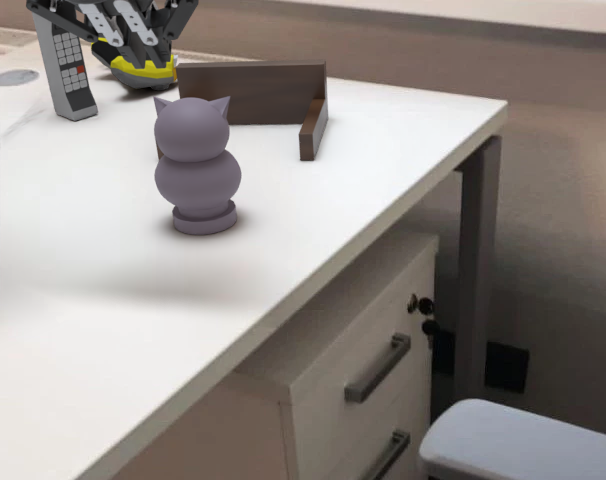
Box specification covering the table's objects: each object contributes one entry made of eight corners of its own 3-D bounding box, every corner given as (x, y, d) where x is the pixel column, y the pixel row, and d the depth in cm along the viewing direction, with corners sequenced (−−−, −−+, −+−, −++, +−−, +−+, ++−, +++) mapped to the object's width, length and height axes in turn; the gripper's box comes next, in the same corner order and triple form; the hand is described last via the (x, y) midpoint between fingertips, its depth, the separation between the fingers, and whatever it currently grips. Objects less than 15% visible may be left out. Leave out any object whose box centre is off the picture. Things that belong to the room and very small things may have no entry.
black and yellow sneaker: (120, 103, 120) (189, 90, 123) (112, 61, 117) (184, 48, 119) (93, 76, 131) (158, 64, 134) (85, 36, 127) (152, 25, 130)
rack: (314, 160, 100) (310, 96, 95) (158, 161, 102) (148, 99, 98) (328, 118, 110) (325, 59, 106) (187, 120, 113) (179, 62, 109)
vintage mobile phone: (74, 122, 115) (24, -103, 99) (55, 114, 118) (3, -105, 102) (99, 114, 117) (53, -108, 101) (79, 106, 120) (32, -110, 104)
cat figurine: (150, 236, 87) (127, 112, 79) (178, 203, 93) (159, 84, 85) (233, 240, 85) (217, 113, 77) (255, 206, 91) (243, 85, 83)
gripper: (175, -160, 53) (237, 11, 71) (-34, -146, 55) (75, 16, 73) (167, -43, 53) (231, 101, 70) (-45, -34, 55) (68, 104, 72)
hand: (151, 57), depth 71 cm, fingers closed
